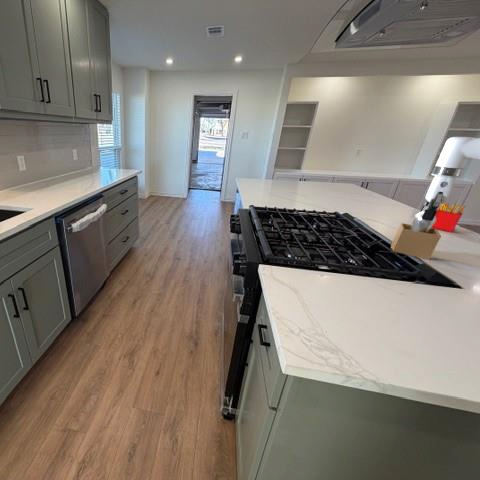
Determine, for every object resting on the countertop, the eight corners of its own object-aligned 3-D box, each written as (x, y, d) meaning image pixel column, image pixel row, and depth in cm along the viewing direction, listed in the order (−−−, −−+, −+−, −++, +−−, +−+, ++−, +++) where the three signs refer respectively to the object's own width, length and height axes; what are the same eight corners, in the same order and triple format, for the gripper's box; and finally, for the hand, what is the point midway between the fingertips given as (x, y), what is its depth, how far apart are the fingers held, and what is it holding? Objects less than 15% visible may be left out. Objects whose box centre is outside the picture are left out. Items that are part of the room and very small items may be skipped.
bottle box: (423, 254, 109) (436, 229, 104) (427, 262, 101) (441, 236, 97) (390, 246, 115) (400, 222, 110) (391, 254, 108) (402, 228, 103)
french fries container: (430, 225, 146) (442, 201, 140) (453, 230, 139) (466, 205, 133) (428, 227, 142) (440, 203, 136) (451, 232, 135) (465, 207, 130)
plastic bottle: (397, 250, 108) (418, 205, 100) (400, 246, 112) (421, 202, 104) (417, 256, 104) (441, 210, 95) (420, 251, 108) (443, 206, 99)
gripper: (467, 176, 86) (442, 225, 93) (455, 171, 99) (434, 215, 106) (437, 173, 90) (415, 220, 97) (429, 169, 103) (410, 211, 110)
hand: (425, 217), depth 102 cm, fingers closed on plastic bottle, 6 cm apart
